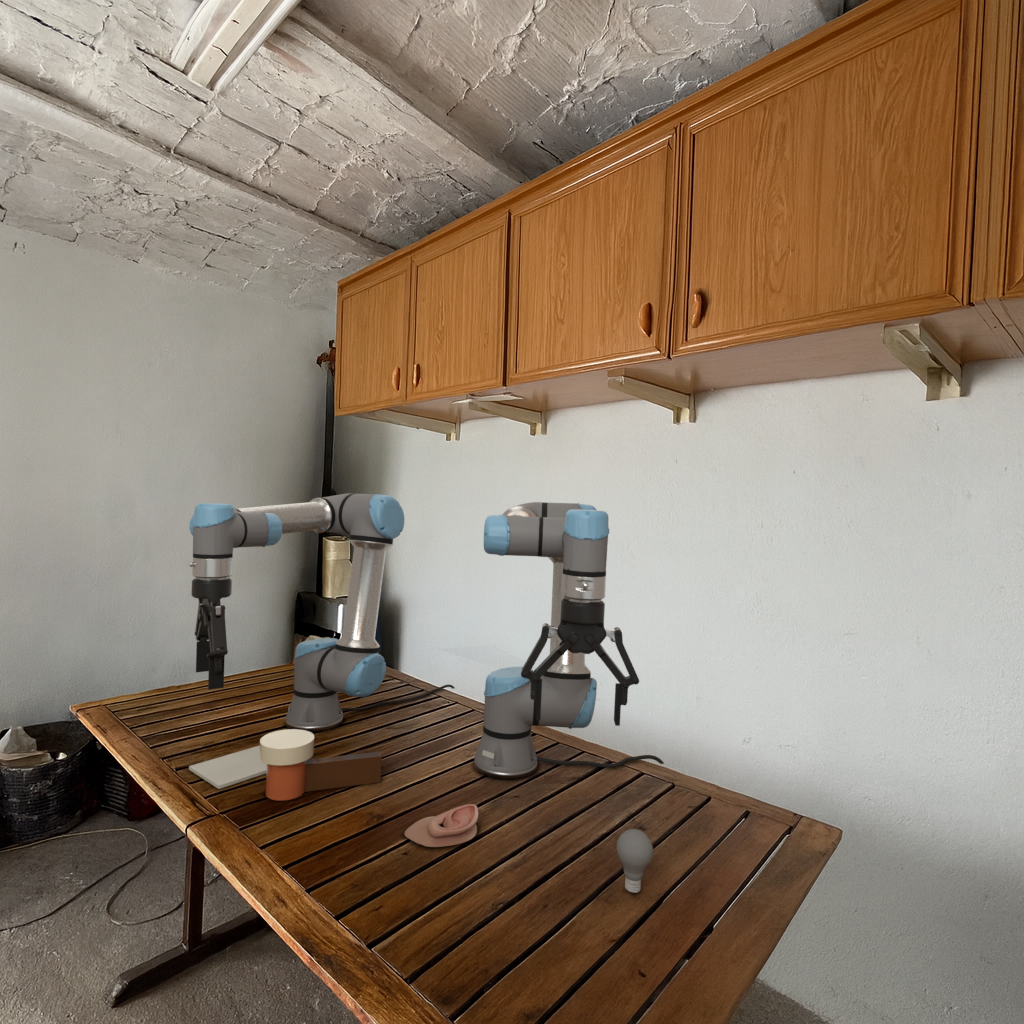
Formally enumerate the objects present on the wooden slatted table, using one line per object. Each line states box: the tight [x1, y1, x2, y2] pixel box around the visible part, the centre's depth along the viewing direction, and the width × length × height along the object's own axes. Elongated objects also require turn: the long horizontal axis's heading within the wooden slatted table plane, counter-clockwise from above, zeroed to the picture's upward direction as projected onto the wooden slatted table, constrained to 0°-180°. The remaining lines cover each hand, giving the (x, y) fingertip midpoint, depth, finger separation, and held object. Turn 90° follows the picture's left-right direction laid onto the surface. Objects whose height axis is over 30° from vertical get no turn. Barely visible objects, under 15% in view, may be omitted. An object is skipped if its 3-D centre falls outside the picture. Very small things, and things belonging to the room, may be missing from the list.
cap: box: [259, 728, 315, 766], centre depth 135 cm, size 11×11×4 cm
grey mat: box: [188, 744, 267, 790], centre depth 147 cm, size 20×14×1 cm
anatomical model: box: [404, 803, 479, 848], centre depth 121 cm, size 13×4×12 cm
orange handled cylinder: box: [265, 751, 382, 802], centre depth 138 cm, size 24×8×8 cm, turn 112°
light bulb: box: [615, 828, 654, 894], centre depth 106 cm, size 6×6×10 cm
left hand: (209, 679), depth 132 cm, fingers open, 13 cm apart
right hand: (577, 720), depth 110 cm, fingers open, 13 cm apart
